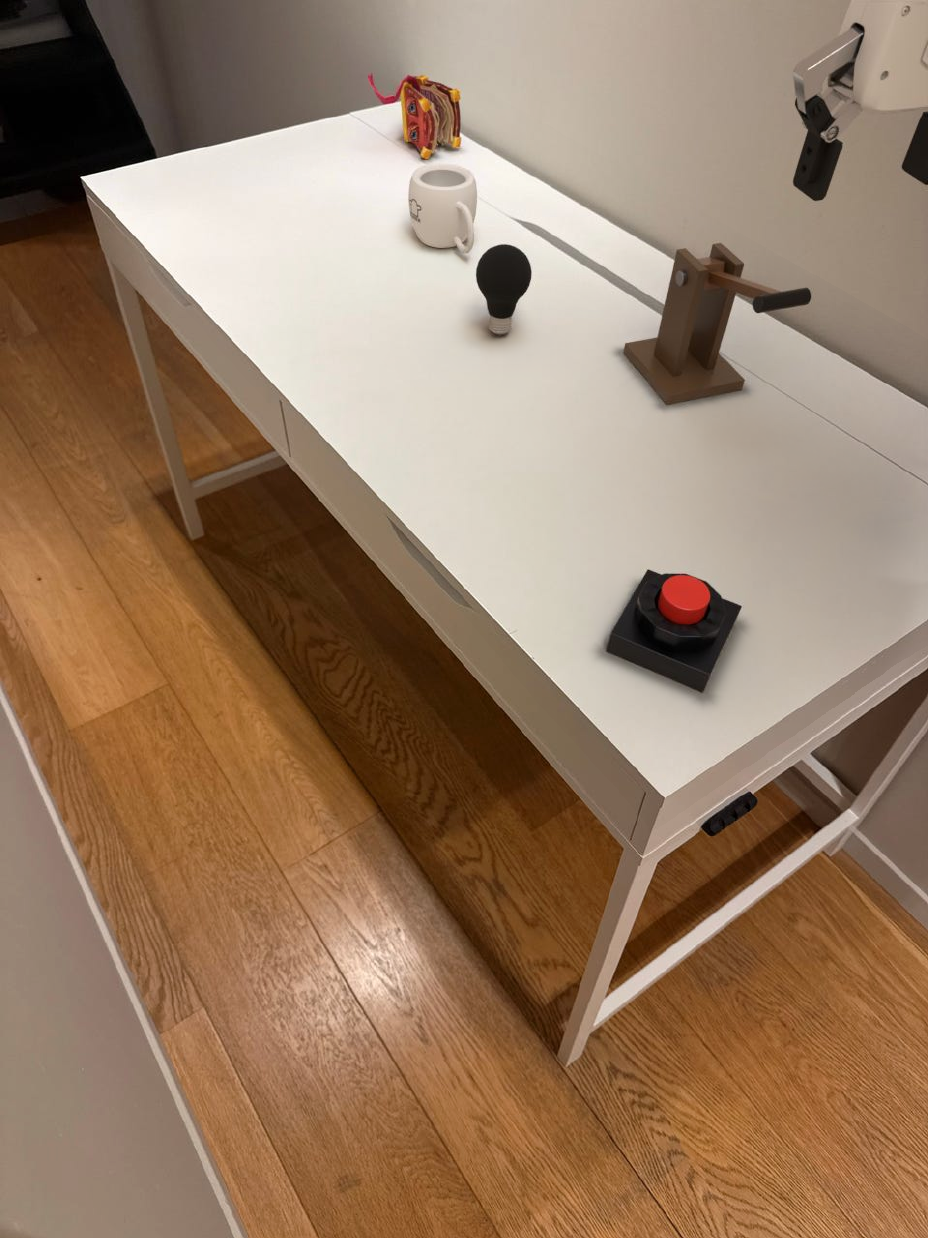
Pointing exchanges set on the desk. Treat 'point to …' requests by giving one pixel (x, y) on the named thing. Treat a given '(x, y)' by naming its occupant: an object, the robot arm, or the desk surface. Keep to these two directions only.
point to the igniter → (672, 634)
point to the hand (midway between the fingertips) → (863, 184)
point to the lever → (752, 289)
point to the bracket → (690, 334)
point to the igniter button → (683, 599)
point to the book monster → (427, 112)
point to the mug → (443, 205)
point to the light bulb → (503, 283)
